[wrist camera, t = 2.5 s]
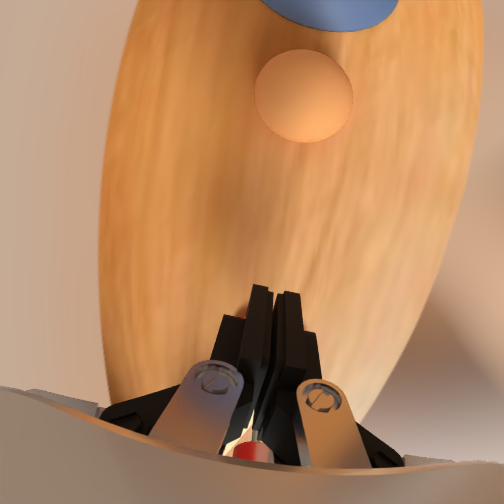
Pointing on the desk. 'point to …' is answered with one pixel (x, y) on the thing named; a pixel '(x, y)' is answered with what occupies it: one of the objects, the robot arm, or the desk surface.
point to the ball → (303, 95)
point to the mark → (334, 13)
